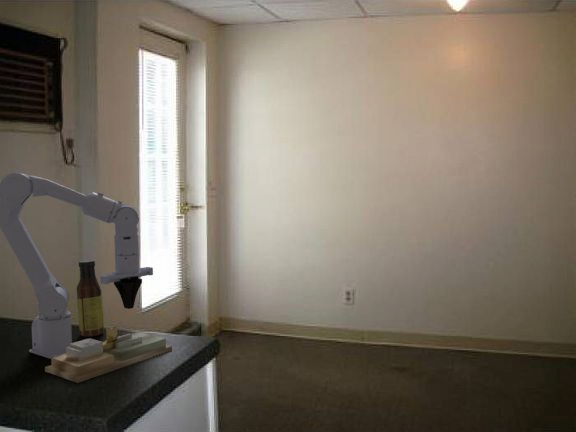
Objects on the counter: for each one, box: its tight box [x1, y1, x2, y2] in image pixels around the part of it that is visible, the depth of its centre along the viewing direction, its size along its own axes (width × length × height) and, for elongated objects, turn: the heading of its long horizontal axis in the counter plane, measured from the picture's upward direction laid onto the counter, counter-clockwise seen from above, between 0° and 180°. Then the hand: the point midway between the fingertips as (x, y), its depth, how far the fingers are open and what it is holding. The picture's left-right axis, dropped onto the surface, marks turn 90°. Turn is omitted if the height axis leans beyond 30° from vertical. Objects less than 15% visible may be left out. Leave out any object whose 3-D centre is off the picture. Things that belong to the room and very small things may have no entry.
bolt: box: [102, 326, 118, 350], centre depth 132 cm, size 2×8×4 cm, turn 144°
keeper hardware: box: [66, 333, 142, 362], centre depth 133 cm, size 5×17×3 cm, turn 144°
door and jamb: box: [44, 331, 173, 384], centre depth 134 cm, size 12×26×3 cm, turn 144°
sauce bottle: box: [76, 259, 105, 338], centre depth 155 cm, size 7×6×20 cm
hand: (128, 307), depth 145 cm, fingers closed
